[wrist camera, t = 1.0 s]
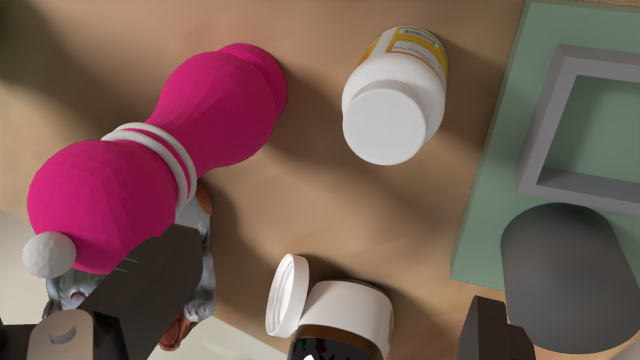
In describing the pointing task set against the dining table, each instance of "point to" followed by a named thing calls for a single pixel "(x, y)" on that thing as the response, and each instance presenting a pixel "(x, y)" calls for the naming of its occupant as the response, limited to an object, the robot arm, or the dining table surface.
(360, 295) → the spread jar
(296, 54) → the dining table surface
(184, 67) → the pepper mill
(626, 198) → the desk organizer tray
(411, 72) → the supplement bottle
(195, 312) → the lucky cat figurine
